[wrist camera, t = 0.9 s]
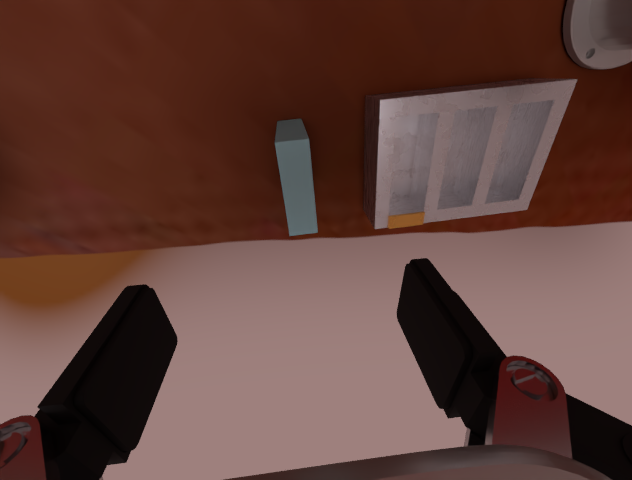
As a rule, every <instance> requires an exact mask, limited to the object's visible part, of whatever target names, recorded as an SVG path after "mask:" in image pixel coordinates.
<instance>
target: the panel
mask: <svg viewBox="0 0 632 480" xmlns="http://www.w3.org/2000/svg"><path fill="white" fill-rule="evenodd" d="M275 147H276V154H277V160H278V166H279V172H280V178H281V184H282V191H283V197H284V203H285V209H286V215H287V221H288V228H289V234H290V236H295V235H302V234H310V233H318V229H317V219H316V208H315V197H314V187H313V176H312V165H311V154H310V144H309V137H308V135H307V132H306V130H305V127H304V124H303V122H302V119H293V120H283V121H277V128H276V136H275Z"/></svg>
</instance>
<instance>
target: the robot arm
mask: <svg viewBox="0 0 632 480" xmlns="http://www.w3.org/2000/svg"><path fill="white" fill-rule="evenodd" d="M563 37H564V44H565V47H566V50H567V53H568V54H569V56H570V57H571V58H572V60H573V61H574V62H575V63H577V64H578V65H579V66H581V67H584V68H588V69H611V68H616V67H619V66H622V65H625V64H627V63H629V62H631V61H632V0H567V3H566V8H565V12H564V20H563ZM397 319H398V322H399V324H400V326H401V328H402V330H403V333H404V335H405V337H406V339H407V341H408V343H409V346H410V348H411V350H412V352H413V354H414V356H415V358H416V361H417V363H418V365H419V367H420V369H421V371H422V374H423V376H424V378H425V380H426V383H427V385H428V387H429V389H430V391H431V393H432V396H433V398H434V400H435V402H436V404H437V406H438V407H439V408H441V409H444V411H445V413H446V415H447V417H448V418H454V417H461V419H462V420H463V422H464V424H465V426H466V427H467V432H466V437H465V443H464V447H457V448H448V449H440V450H431V451H423V452H414V453H407V454H401V455H393V456H386V457H378V458H371V459H364V460H357V461H350V462H343V463H335V464H328V465H321V466H315V467H307V468H301V469H294V470H287V471H280V472H273V473H266V474H259V475H252V476H246V477H239V478H232V479H225V480H632V426H631V425H629V424H627V423H625V422H623V421H621V420H619V419H617V418H615V417H613V416H611V415H609V414H607V413H605V412H603V411H601V410H599V409H597V408H594V407H592V406H590V405H588V404H586V403H584V402H582V401H580V400H578V399H576V398H574V397H572V396H570V395H568V394H566V393H565V391H564V387H563V386H562V384H561V382H560V381H559V379H558V378H557V377H556V376H555V375H554V374H553V373H552V372H551V371H550V370H549V369H547V368H546V367H544V366H543V365H542V364H540V363H538V362H536V361H534V360H532V359H529V358H526V357H523V356H510V357H506V355H505V354H504V353H503V351H502V350H501V349H500V347H499V346H498V345H497V344H496V342H495V341H494V340H493V339H492V337H491V336H490V335H489V333H488V332H487V331H486V330H485V328H484V327H483V326H482V325H481V323H480V322H479V321H478V319H477V318H476V317H475V316H474V315H473V313H472V312H471V311H470V309H469V308H468V307H467V306H466V304H465V303H464V302H463V300H462V299H461V298H460V297H459V295H457V293H456V292H454V291H453V290H452V289H451V288H450V286H449V285H448V284H447V283H446V281H445V280H444V279H443V277H442V276H441V275H440V273H439V272H438V271H437V270H436V268H435V267H434V266H433V264H432V263H431V262H430V261H429V260H428V259H427V258H423V259H413V260H411V261H410V263H409V264H406V266H405V271H404V276H403V282H402V287H401V292H400V298H399V303H398V309H397ZM176 345H177V336H176V333H175V331H174V329H173V327H172V325H171V323H170V321H169V319H168V317H167V315H166V313H165V311H164V309H163V307H162V305H161V303H160V301H159V299H158V297H157V295H156V293H155V291H154V290H153V288H149V286H147V285H134V286H127V287H126V288H125V289H124V290H123V291H122V293H121V294H120V295H119V297H118V298H117V299H116V301H115V302H114V303H113V305H112V306H111V307H110V309H109V310H108V312H107V313H106V314H105V316H104V317H103V318H102V320H101V321H100V322H99V324H98V325H97V327H96V328H95V329H94V331H93V332H92V333H91V335H90V336H89V337H88V339H87V340H86V341H85V343H84V344H83V346H82V347H81V348H80V350H79V351H78V353H77V354H76V355H75V357H74V358H73V359H72V361H71V362H70V363H69V365H68V366H67V367H66V369H65V370H64V372H63V373H62V374H61V375H60V377H59V378H58V380H57V381H56V382H55V384H54V385H53V386H52V388H51V389H50V390H49V392H48V393H47V394H46V396H45V397H44V399H43V400H42V401H41V403H40V404H39V405H38V408H39V409H40V410H39V411H38V412H37V414H36V415H35V417H33V416H31V415H28V416H19V417H16V418H13V419H10V420H8V421H6V422H4V423H3V424H0V480H103V478H102V475H103V472H104V470H105V468H106V466H107V465H111V464H119V463H125V462H127V459H128V457H129V454H130V452H131V450H133V449H135V448H136V446H137V445H138V443H139V440H140V438H141V435H142V433H143V430H144V427H145V425H146V422H147V420H148V417H149V415H150V412H151V410H152V407H153V405H154V402H155V399H156V397H157V394H158V392H159V389H160V387H161V384H162V382H163V379H164V376H165V374H166V371H167V369H168V366H169V364H170V361H171V358H172V356H173V353H174V351H175V348H176Z"/></svg>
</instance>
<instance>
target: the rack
mask: <svg viewBox="0 0 632 480" xmlns="http://www.w3.org/2000/svg"><path fill="white" fill-rule="evenodd" d="M577 80H578V79H550V78H529V79H520V80H510V81H501V82H491V83H482V84H472V85H463V86H453V87H443V88H434V89H424V90H415V91H405V92H396V93H386V94H377V95H367V96H365V136H364V201H363V210H364V212H365V213H366V215H367V217H368V219H369V220H370V222H371V224H372V225H373V227H374V229H380V228H388V229H391V228H399V227H407V226H414V225H422V224H423V223H427V222H435V221H443V220H450V219H458V218H466V217H474V216H482V215H490V214H498V213H506V212H513V211H521V210H527V208H528V206H529V203H530V200H531V198H532V195H533V193H534V190H535V188H536V185H537V182H538V180H539V177H540V175H541V172H542V170H543V167H544V164H545V162H546V159H547V157H548V154H549V152H550V149H551V146H552V144H553V141H554V139H555V136H556V134H557V131H558V128H559V126H560V123H561V121H562V118H563V116H564V113H565V110H566V108H567V105H568V103H569V100H570V98H571V95H572V92H573V90H574V87H575V85H576V82H577Z"/></svg>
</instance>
